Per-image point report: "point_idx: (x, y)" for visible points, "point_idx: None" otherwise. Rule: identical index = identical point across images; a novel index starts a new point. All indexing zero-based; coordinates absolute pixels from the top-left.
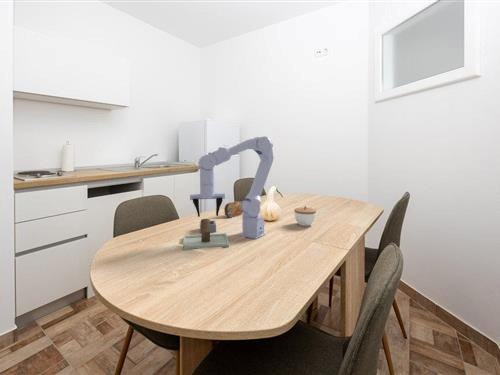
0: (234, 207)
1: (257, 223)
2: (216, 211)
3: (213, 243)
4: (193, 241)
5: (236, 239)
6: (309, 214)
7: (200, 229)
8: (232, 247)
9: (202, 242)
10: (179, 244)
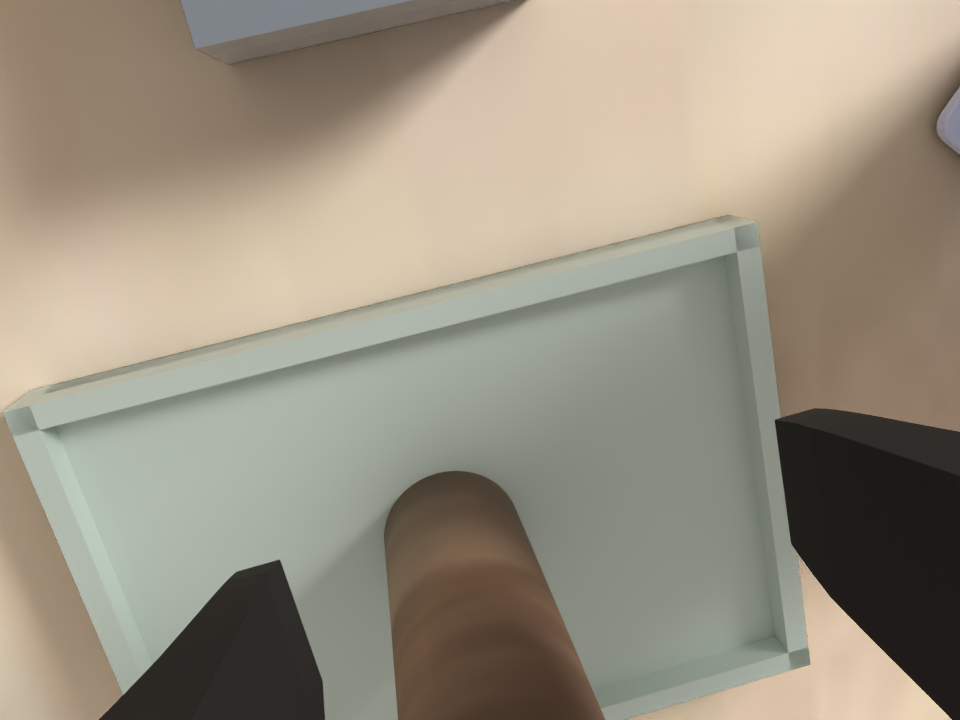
0: None
1: None
2: (867, 583)
3: (584, 616)
4: None
5: (885, 327)
6: None
7: (220, 55)
8: (822, 637)
9: None
10: (55, 620)
